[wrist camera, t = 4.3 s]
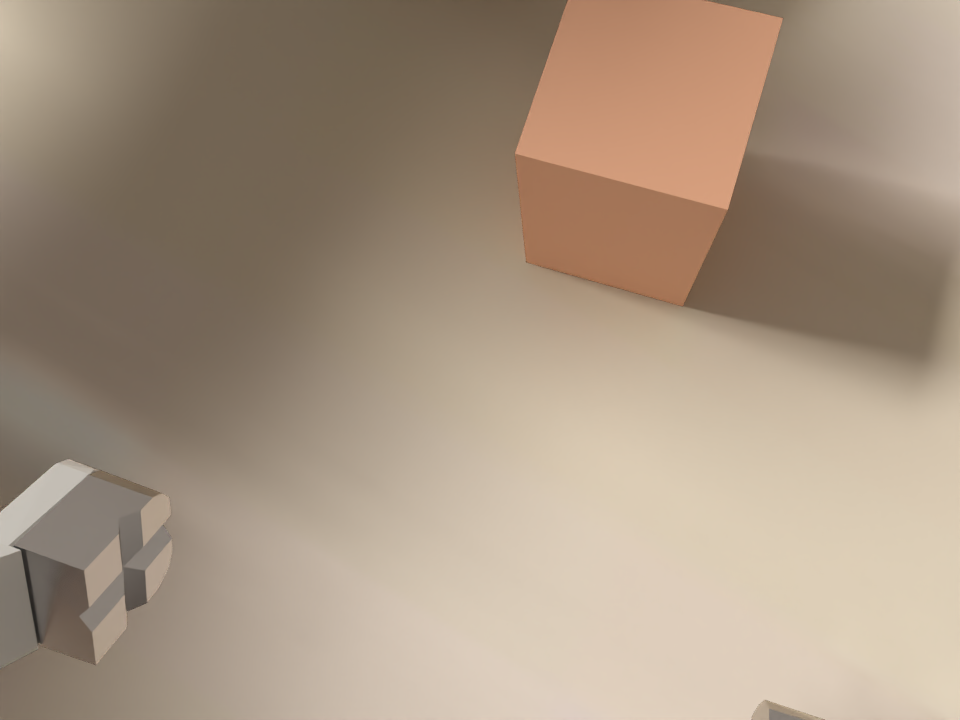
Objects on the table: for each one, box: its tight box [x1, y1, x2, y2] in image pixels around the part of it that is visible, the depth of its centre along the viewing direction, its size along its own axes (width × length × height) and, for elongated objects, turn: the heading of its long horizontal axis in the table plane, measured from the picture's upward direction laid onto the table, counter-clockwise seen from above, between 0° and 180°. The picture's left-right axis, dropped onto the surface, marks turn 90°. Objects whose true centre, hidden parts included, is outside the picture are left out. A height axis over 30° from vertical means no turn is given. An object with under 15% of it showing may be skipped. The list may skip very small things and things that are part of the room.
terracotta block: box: [515, 0, 783, 306], centre depth 24 cm, size 5×5×8 cm
